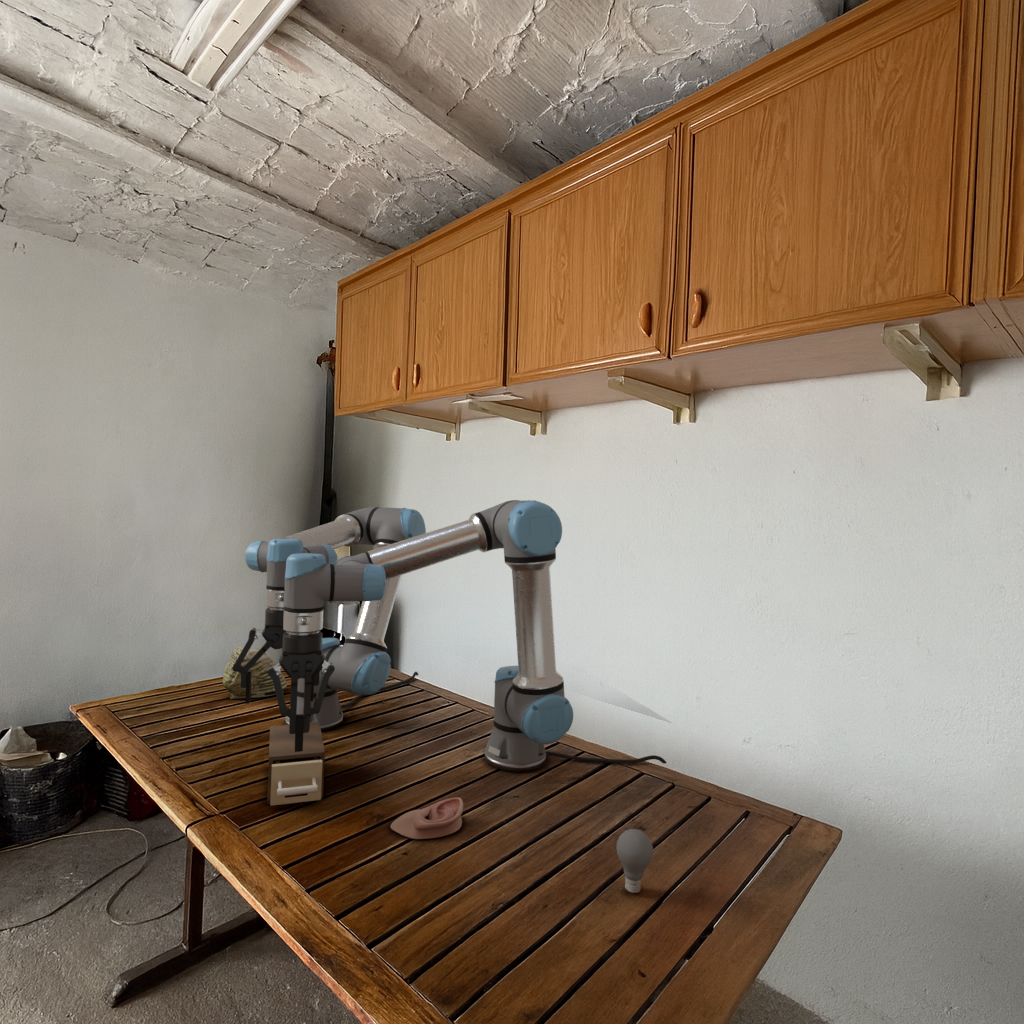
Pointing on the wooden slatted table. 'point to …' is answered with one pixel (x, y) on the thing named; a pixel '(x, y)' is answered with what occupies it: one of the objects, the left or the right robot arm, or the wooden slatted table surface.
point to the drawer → (296, 780)
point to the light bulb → (634, 857)
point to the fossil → (259, 679)
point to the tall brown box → (285, 748)
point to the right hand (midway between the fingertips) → (298, 748)
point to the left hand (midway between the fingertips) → (280, 700)
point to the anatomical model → (431, 820)
